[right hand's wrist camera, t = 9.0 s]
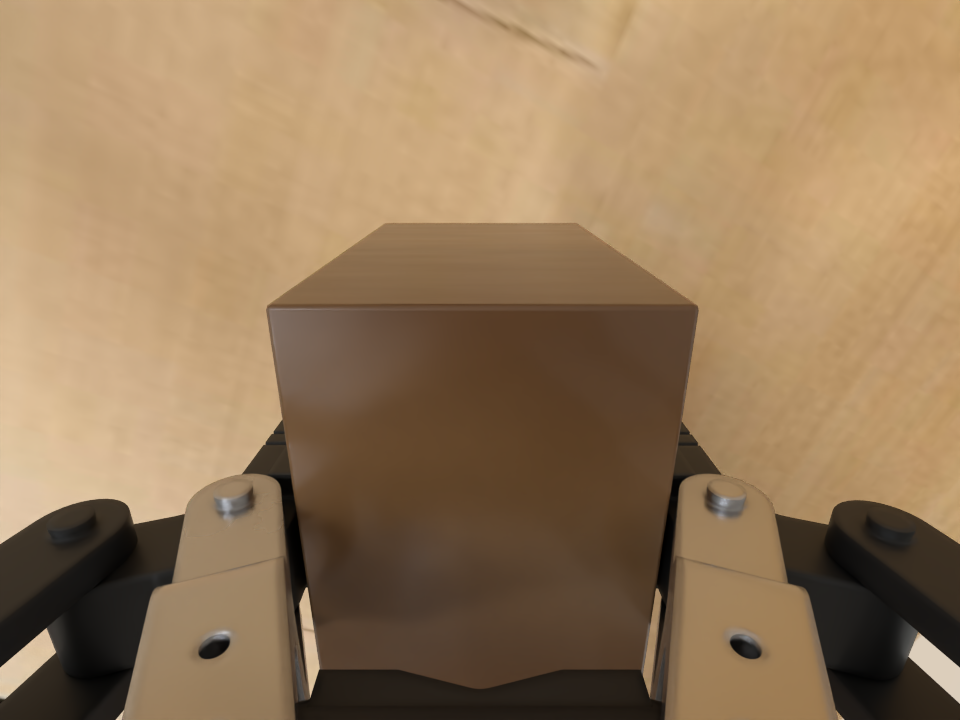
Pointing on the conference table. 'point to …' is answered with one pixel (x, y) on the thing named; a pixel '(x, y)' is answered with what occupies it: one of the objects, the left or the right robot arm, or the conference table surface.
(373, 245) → the bar
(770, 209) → the conference table surface
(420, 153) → the conference table surface
